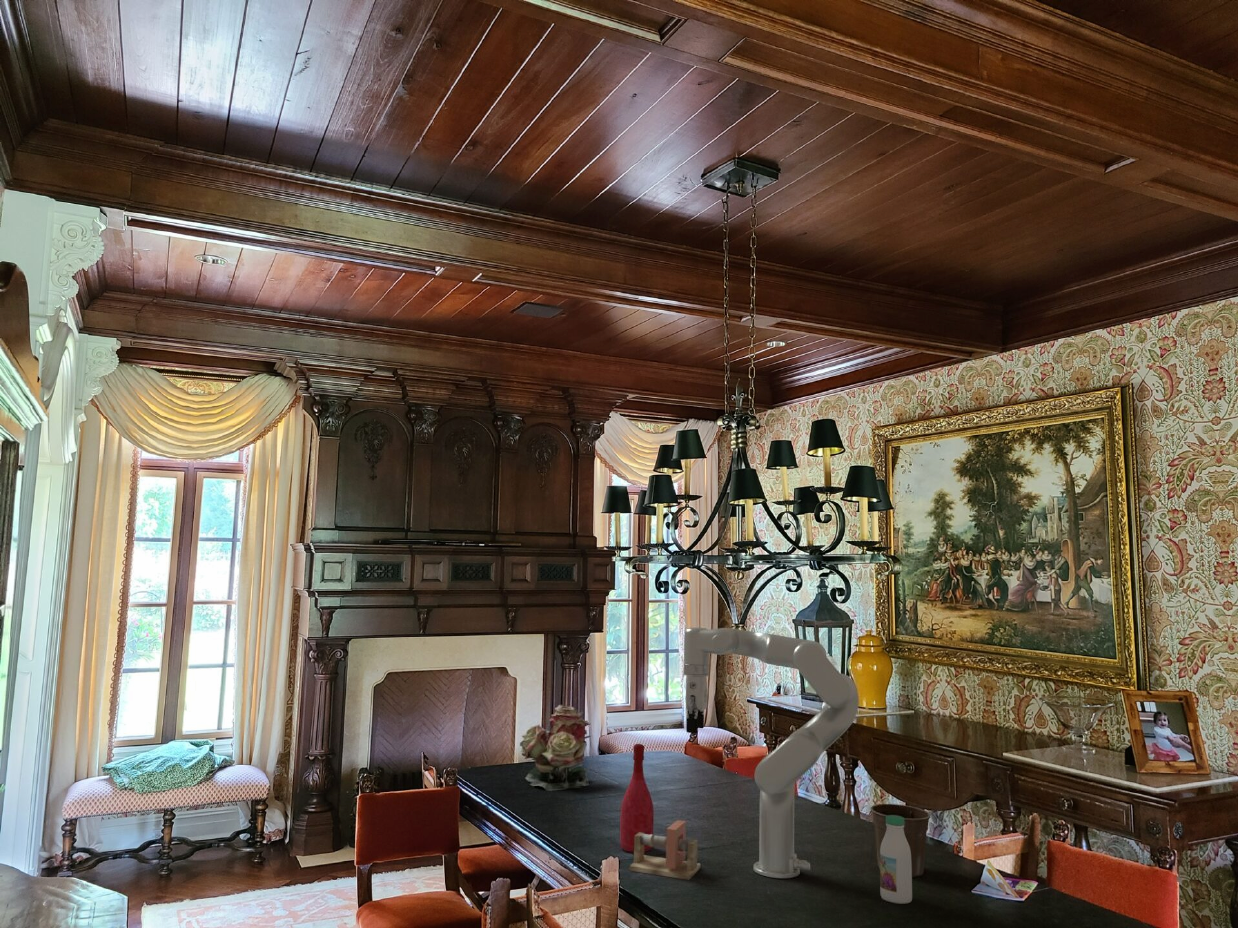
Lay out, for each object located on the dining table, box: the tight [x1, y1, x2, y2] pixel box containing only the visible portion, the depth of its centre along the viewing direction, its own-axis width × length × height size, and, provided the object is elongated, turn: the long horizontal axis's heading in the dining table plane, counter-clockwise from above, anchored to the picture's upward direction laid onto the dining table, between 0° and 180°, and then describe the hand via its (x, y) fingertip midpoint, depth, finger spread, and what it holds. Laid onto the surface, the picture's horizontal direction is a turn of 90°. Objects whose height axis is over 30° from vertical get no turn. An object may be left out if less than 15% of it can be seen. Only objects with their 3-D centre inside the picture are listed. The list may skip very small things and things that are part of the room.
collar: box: [665, 819, 687, 869], centre depth 236 cm, size 2×10×10 cm, turn 159°
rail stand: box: [628, 832, 701, 881], centre depth 237 cm, size 17×11×9 cm, turn 69°
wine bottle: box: [619, 743, 655, 854], centre depth 256 cm, size 10×10×30 cm
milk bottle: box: [879, 815, 913, 905], centre depth 220 cm, size 8×8×20 cm
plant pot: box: [870, 803, 932, 878], centre depth 242 cm, size 16×16×16 cm
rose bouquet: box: [519, 704, 592, 792], centre depth 338 cm, size 26×29×30 cm
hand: (695, 730), depth 250 cm, fingers open, 9 cm apart
